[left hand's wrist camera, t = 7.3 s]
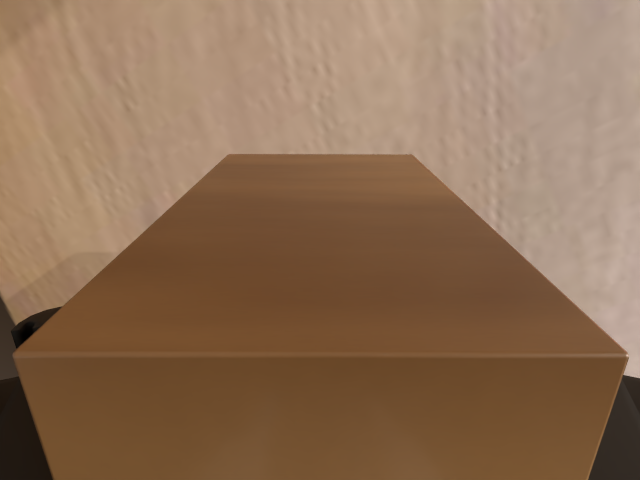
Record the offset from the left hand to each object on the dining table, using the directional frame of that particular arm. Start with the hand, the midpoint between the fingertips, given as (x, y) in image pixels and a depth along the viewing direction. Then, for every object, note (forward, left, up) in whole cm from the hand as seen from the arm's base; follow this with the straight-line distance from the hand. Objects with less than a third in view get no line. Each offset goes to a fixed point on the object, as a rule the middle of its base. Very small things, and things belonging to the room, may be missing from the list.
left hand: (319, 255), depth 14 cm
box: (+7, 0, -1) cm, 7 cm away
